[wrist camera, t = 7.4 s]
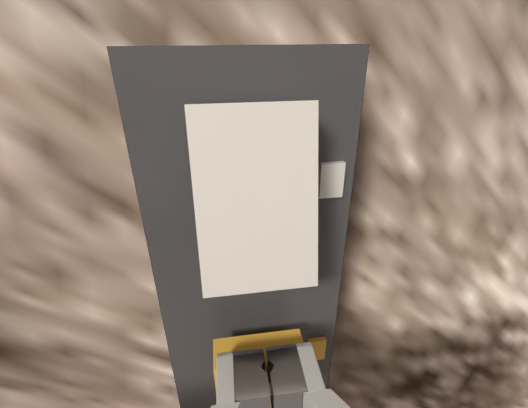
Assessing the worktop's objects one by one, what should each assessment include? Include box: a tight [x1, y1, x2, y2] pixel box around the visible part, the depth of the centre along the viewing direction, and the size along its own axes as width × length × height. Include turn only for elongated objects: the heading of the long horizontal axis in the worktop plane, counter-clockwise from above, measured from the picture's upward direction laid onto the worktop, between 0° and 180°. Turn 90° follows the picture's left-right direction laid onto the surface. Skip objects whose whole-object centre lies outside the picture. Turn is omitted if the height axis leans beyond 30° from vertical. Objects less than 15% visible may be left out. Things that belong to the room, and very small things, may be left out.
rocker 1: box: [184, 100, 319, 298], centre depth 9 cm, size 5×3×1 cm, turn 1°
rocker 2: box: [213, 329, 303, 388], centre depth 12 cm, size 5×3×1 cm, turn 0°
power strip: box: [107, 44, 370, 408], centre depth 16 cm, size 27×7×5 cm, turn 0°
